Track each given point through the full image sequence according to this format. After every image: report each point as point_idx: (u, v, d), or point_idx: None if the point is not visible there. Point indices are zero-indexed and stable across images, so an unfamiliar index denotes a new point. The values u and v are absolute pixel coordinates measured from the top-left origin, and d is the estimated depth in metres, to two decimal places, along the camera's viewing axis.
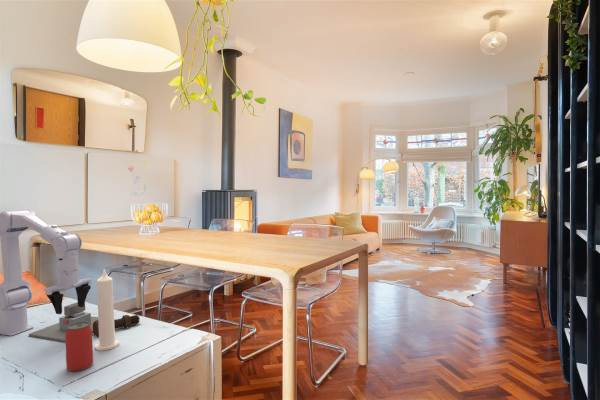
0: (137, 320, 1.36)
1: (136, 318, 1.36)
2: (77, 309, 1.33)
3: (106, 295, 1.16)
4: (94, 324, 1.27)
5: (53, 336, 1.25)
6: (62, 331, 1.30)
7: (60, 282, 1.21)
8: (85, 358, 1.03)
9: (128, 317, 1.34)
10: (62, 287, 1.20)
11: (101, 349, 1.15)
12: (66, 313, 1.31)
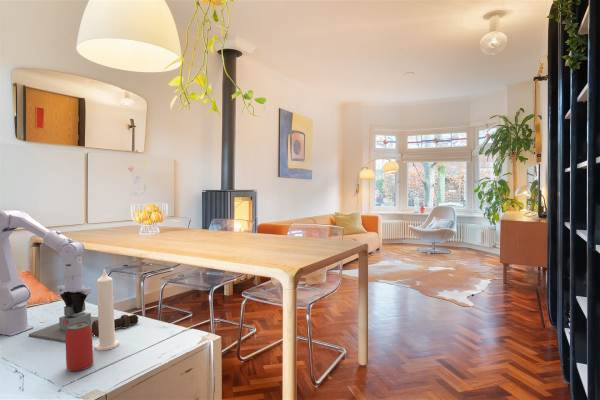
0: (136, 319, 1.37)
1: (135, 317, 1.37)
2: None
3: (106, 295, 1.16)
4: (93, 324, 1.27)
5: (53, 336, 1.25)
6: (62, 331, 1.30)
7: None
8: (85, 358, 1.03)
9: (127, 317, 1.34)
10: (62, 288, 1.33)
11: (101, 349, 1.15)
12: (66, 313, 1.31)
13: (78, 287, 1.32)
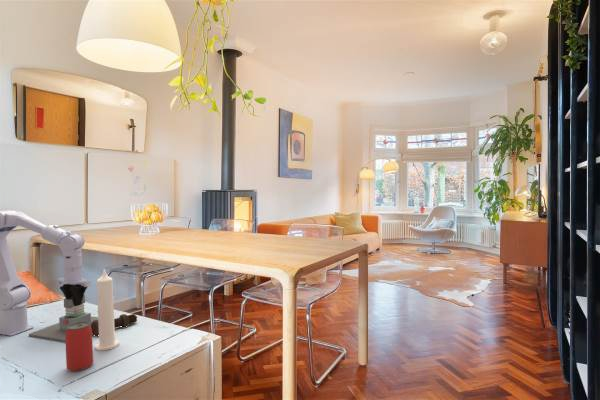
0: (135, 319, 1.37)
1: (134, 317, 1.37)
2: None
3: (106, 295, 1.16)
4: (93, 324, 1.27)
5: (53, 336, 1.25)
6: (62, 331, 1.30)
7: None
8: (85, 358, 1.03)
9: (126, 316, 1.35)
10: (61, 281, 1.33)
11: (101, 349, 1.15)
12: (66, 305, 1.31)
13: (78, 279, 1.32)
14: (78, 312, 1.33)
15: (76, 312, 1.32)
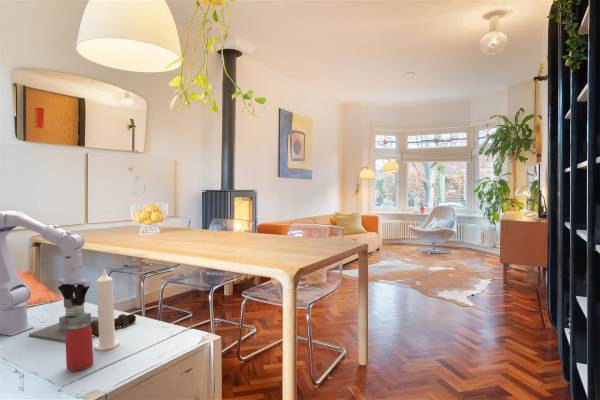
0: (134, 319, 1.38)
1: (133, 317, 1.37)
2: None
3: (106, 295, 1.16)
4: (92, 324, 1.27)
5: (53, 336, 1.25)
6: (62, 331, 1.30)
7: None
8: (85, 358, 1.03)
9: (125, 316, 1.35)
10: (61, 281, 1.33)
11: (101, 349, 1.15)
12: (66, 305, 1.31)
13: (78, 279, 1.32)
14: (78, 312, 1.33)
15: (76, 312, 1.32)
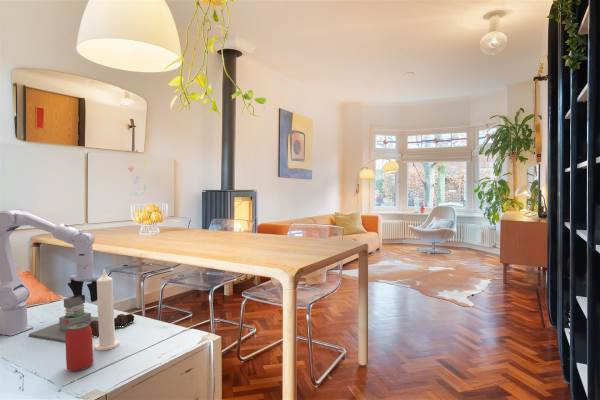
0: (132, 318, 1.38)
1: (131, 316, 1.38)
2: (77, 301, 1.33)
3: (106, 295, 1.16)
4: (92, 324, 1.27)
5: (53, 336, 1.25)
6: (62, 331, 1.30)
7: None
8: (85, 358, 1.03)
9: (124, 316, 1.35)
10: (73, 278, 1.37)
11: (101, 349, 1.15)
12: (66, 305, 1.31)
13: (90, 276, 1.37)
14: (78, 312, 1.33)
15: (76, 312, 1.32)
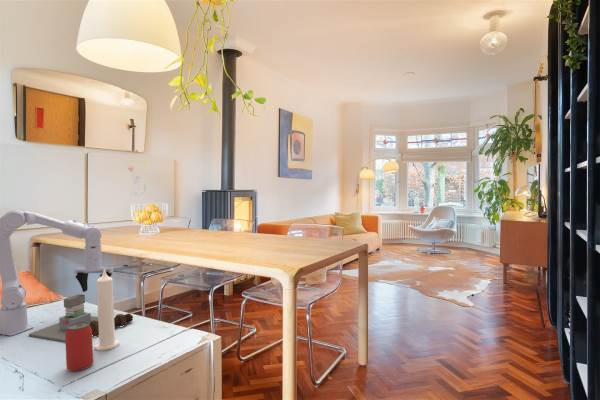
0: (131, 318, 1.38)
1: (130, 316, 1.38)
2: (77, 301, 1.33)
3: (106, 295, 1.16)
4: (91, 324, 1.27)
5: (53, 336, 1.25)
6: (62, 331, 1.30)
7: None
8: (85, 358, 1.03)
9: (123, 316, 1.36)
10: (82, 270, 1.44)
11: (101, 349, 1.15)
12: (66, 305, 1.31)
13: (100, 267, 1.46)
14: (78, 312, 1.33)
15: (76, 312, 1.32)
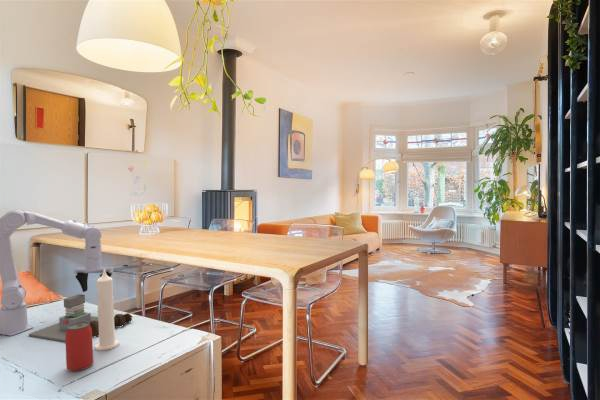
0: (130, 318, 1.39)
1: (129, 316, 1.38)
2: (77, 301, 1.33)
3: (106, 295, 1.16)
4: (91, 324, 1.27)
5: (53, 336, 1.25)
6: (62, 331, 1.30)
7: None
8: (85, 358, 1.03)
9: (122, 315, 1.36)
10: (82, 270, 1.44)
11: (101, 349, 1.15)
12: (66, 305, 1.31)
13: (100, 267, 1.46)
14: (78, 312, 1.33)
15: (76, 312, 1.32)
